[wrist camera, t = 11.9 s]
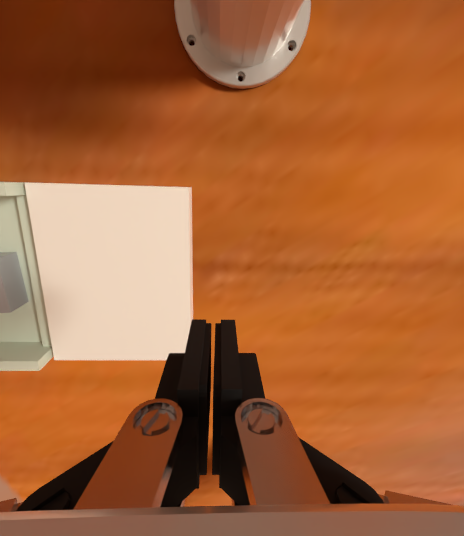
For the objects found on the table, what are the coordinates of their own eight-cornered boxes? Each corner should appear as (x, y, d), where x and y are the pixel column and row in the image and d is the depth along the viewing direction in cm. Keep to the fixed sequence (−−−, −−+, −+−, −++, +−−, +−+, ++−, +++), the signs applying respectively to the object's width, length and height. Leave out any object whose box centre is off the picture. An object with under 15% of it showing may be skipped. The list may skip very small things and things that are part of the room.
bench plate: (42, 182, 31) (24, 182, 28) (191, 187, 31) (188, 187, 29) (67, 346, 36) (54, 360, 33) (193, 346, 37) (191, 360, 34)
